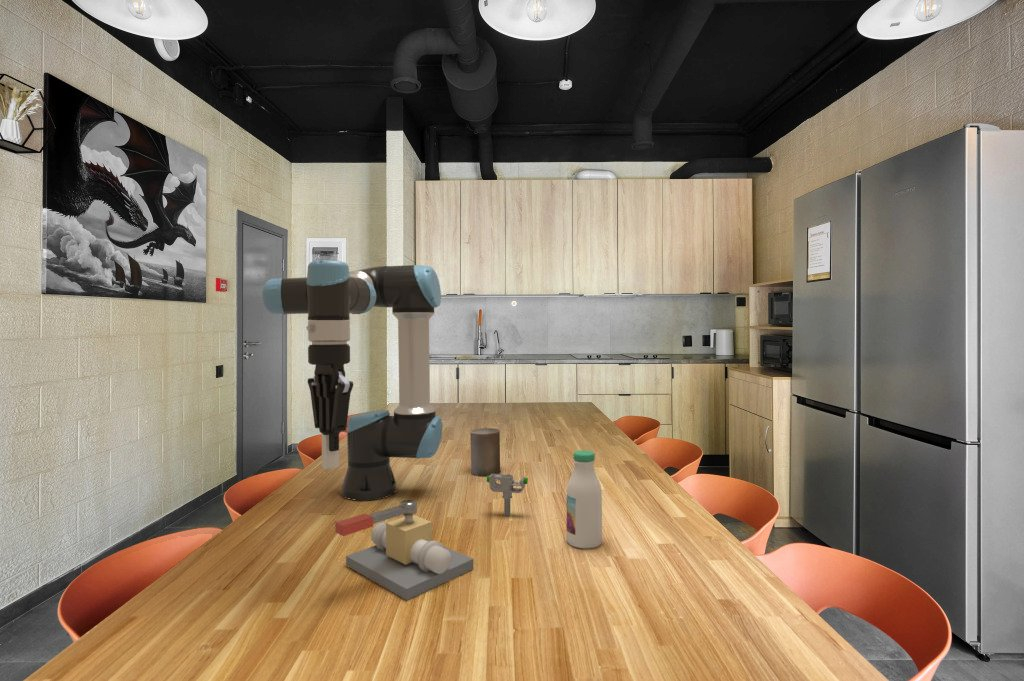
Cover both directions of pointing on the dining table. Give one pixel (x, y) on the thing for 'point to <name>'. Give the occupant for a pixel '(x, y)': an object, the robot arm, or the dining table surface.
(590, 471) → the milk bottle
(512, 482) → the mechanical component
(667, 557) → the dining table surface
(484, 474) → the pillar candle
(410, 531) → the pipe valve base
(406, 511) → the valve lever
